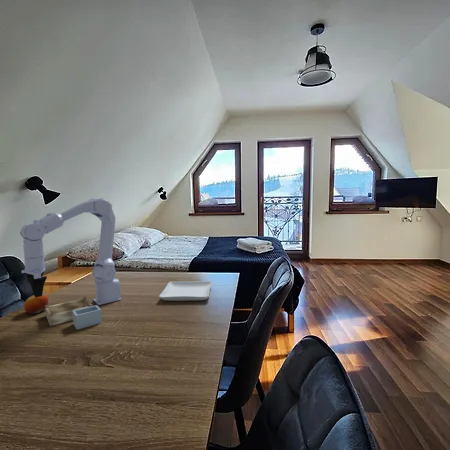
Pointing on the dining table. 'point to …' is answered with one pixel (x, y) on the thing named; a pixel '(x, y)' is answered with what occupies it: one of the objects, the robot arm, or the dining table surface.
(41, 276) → the robot arm
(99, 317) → the small crate
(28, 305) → the fruit
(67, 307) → the pine crate
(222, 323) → the dining table surface
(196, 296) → the salad plate
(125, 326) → the dining table surface
